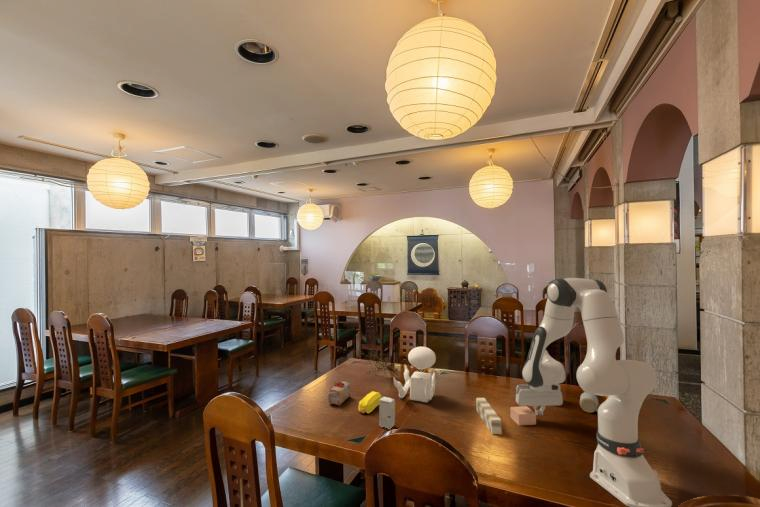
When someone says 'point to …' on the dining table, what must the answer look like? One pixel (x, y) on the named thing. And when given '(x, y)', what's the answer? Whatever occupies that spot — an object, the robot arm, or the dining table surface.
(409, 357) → the figurine
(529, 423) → the peach block
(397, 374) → the dried plant
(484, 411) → the white segmented block row
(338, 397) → the food item
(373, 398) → the yellow rounded capsule
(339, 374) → the dining table surface
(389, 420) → the skincare box
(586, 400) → the ceramic mug
